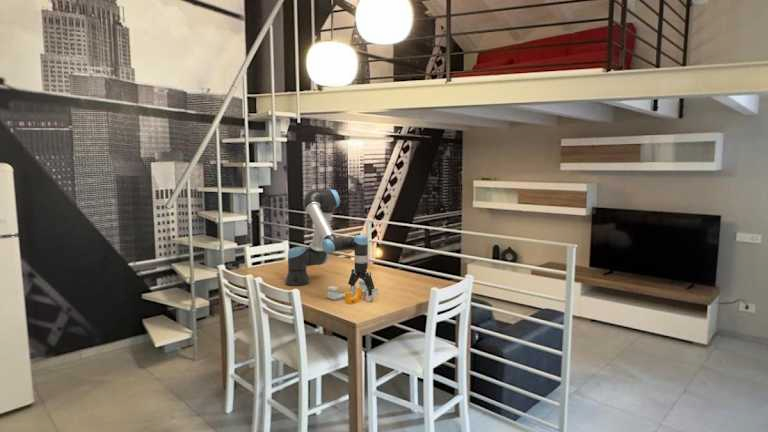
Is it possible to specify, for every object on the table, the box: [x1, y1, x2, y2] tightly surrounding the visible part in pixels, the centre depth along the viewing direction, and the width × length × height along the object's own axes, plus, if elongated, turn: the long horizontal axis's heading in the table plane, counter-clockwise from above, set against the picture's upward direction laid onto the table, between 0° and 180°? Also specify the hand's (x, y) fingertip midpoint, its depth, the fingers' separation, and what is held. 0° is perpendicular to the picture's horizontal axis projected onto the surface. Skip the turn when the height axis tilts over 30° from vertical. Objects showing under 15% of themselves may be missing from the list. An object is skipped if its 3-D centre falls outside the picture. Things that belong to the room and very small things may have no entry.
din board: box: [326, 289, 366, 302], centre depth 293 cm, size 8×28×1 cm, turn 136°
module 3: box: [365, 286, 379, 299], centre depth 292 cm, size 5×5×5 cm
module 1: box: [326, 285, 339, 299], centre depth 284 cm, size 6×3×6 cm, turn 45°
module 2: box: [358, 279, 367, 291], centre depth 302 cm, size 6×3×6 cm, turn 46°
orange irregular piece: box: [344, 287, 363, 305], centre depth 279 cm, size 12×4×6 cm, turn 143°
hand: (361, 299), depth 285 cm, fingers open, 12 cm apart
